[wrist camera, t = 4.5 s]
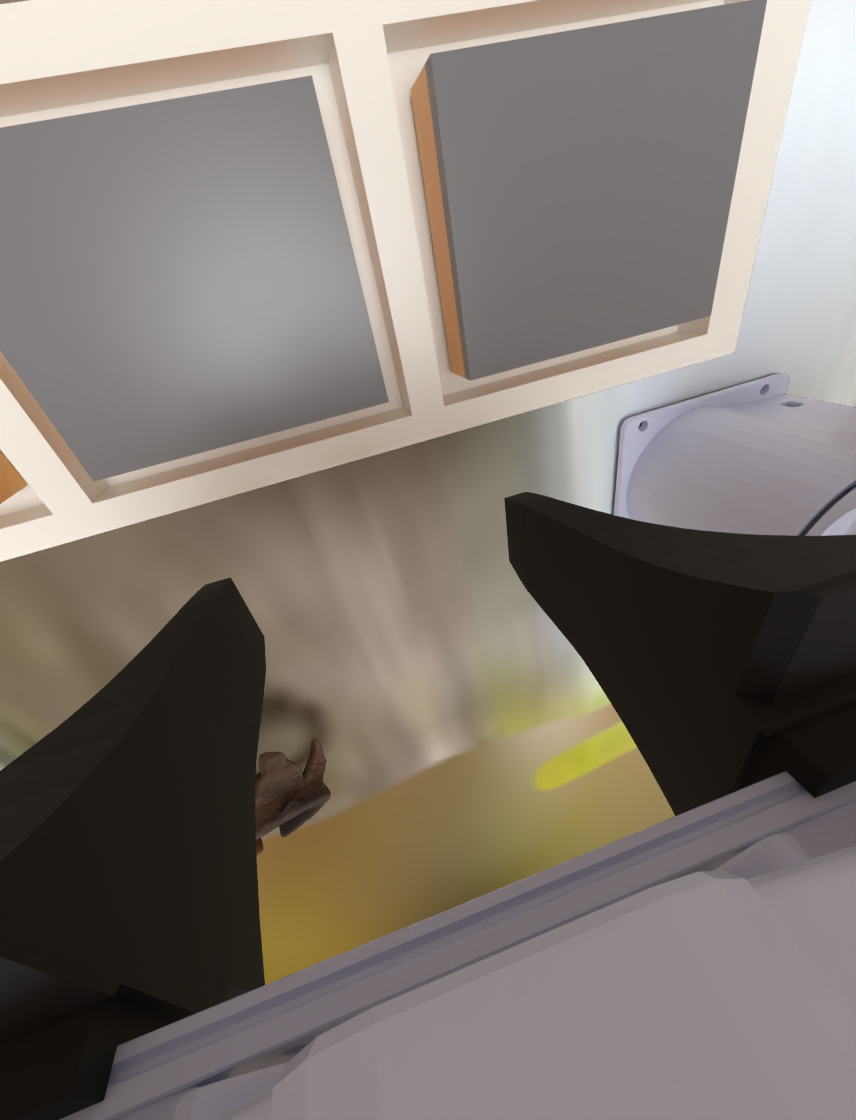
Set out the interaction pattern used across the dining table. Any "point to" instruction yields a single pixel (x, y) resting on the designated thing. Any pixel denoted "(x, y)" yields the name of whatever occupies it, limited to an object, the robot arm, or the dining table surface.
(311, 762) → the brown grey irregular piece
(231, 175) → the middle button
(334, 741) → the dining table surface
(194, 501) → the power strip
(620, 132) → the right button
